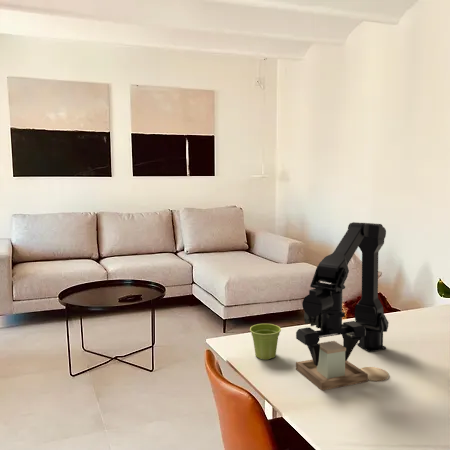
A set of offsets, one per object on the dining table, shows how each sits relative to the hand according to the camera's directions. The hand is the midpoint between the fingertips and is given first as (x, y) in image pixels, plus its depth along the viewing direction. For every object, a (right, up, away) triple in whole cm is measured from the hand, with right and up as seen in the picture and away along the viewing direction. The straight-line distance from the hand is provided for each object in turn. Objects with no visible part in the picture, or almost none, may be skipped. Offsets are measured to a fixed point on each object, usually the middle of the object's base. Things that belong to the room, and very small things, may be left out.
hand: (330, 362), depth 132 cm
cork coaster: (+12, -3, 0) cm, 12 cm away
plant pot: (-17, -2, +15) cm, 22 cm away
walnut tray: (0, -4, 0) cm, 4 cm away
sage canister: (0, -3, 0) cm, 3 cm away
